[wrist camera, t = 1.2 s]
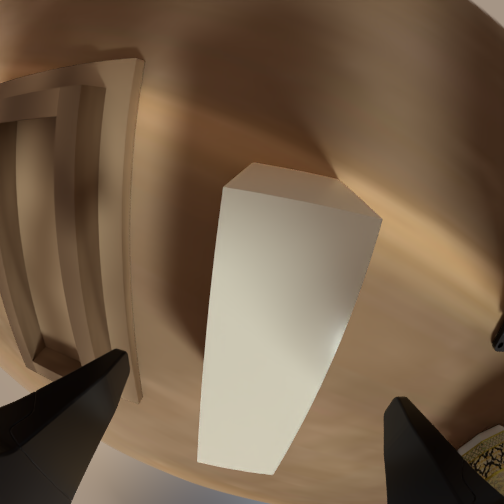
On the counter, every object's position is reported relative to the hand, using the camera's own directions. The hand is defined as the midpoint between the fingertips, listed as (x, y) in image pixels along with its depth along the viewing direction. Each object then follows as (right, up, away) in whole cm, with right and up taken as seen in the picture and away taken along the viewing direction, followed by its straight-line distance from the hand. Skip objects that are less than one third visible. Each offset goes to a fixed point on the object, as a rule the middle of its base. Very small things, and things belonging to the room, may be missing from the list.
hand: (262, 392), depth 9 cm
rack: (-11, +4, +6) cm, 13 cm away
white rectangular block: (0, +2, +5) cm, 6 cm away
